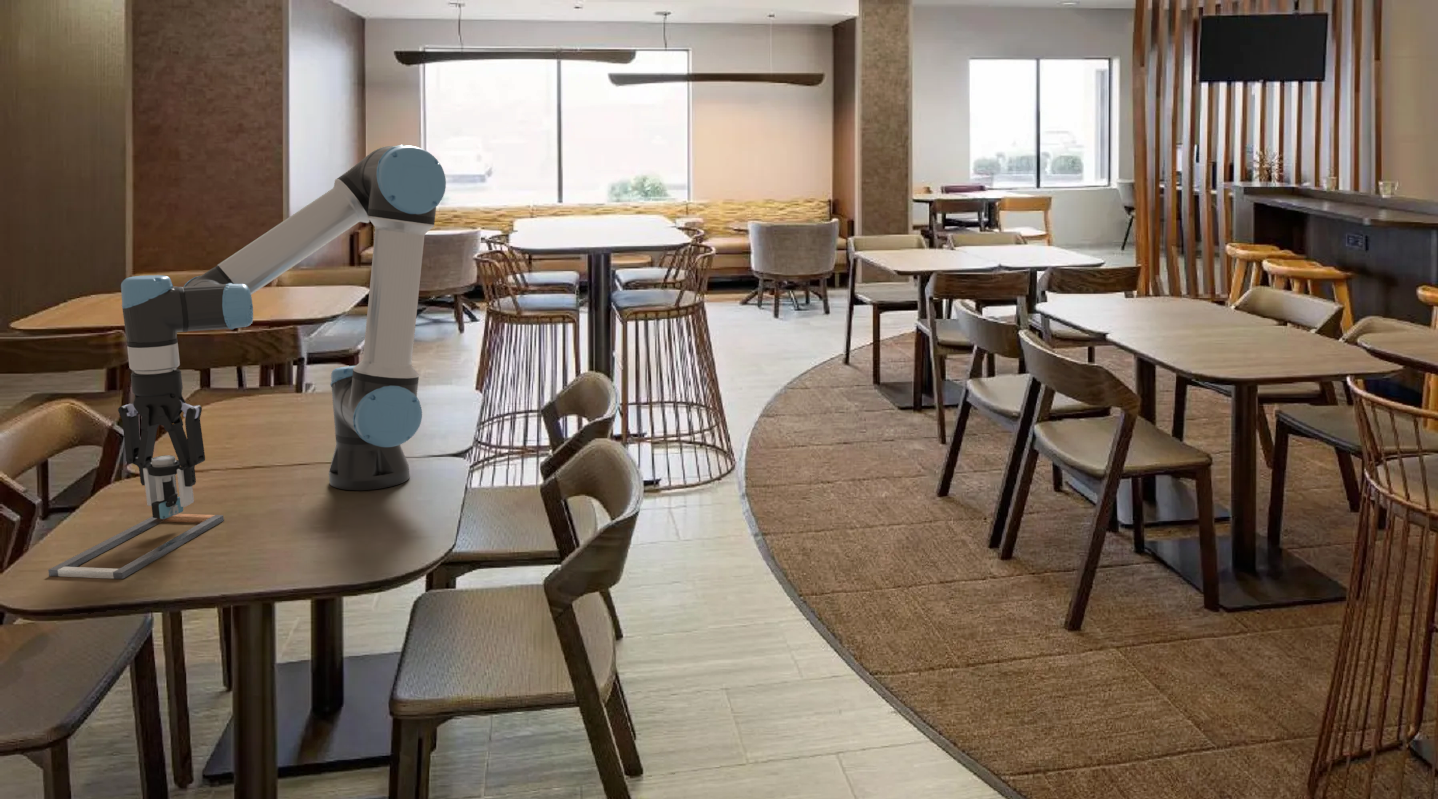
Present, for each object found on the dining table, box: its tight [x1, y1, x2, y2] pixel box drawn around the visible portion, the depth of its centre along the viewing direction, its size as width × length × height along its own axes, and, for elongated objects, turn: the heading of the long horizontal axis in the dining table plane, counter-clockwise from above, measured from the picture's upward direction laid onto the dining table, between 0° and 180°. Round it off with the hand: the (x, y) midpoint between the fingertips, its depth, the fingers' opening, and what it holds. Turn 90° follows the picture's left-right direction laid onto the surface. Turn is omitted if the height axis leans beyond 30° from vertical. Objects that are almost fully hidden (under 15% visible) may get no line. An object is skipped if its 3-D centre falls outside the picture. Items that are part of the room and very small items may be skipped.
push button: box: [146, 454, 184, 519], centre depth 189 cm, size 7×5×10 cm
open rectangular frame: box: [47, 513, 225, 580], centre depth 182 cm, size 12×28×1 cm, turn 174°
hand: (170, 503), depth 190 cm, fingers closed on push button, 5 cm apart
